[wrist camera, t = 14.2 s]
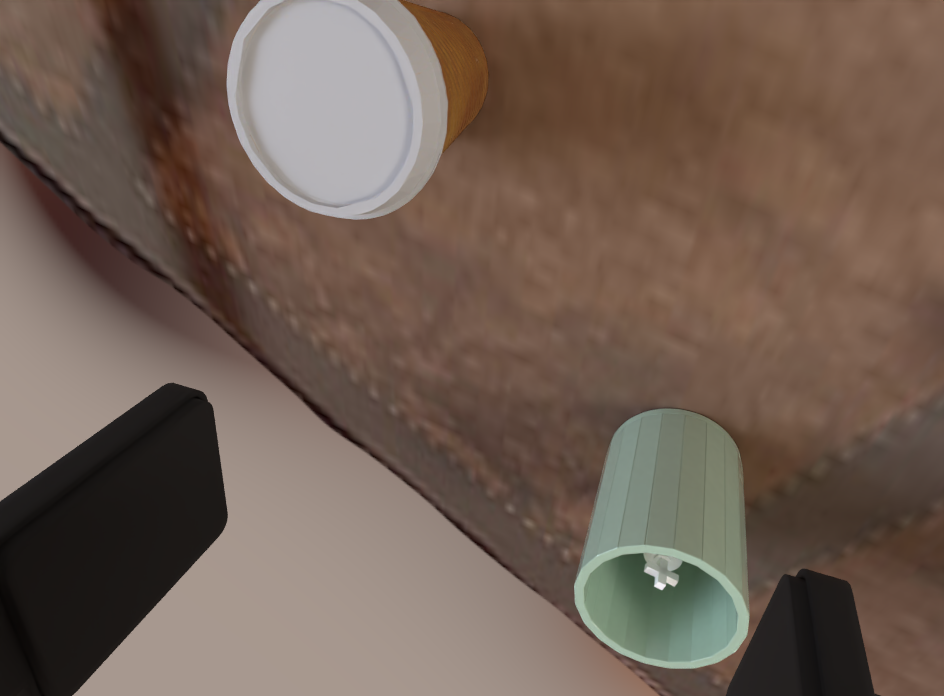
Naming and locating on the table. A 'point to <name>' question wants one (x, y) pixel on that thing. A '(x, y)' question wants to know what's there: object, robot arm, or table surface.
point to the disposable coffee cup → (352, 98)
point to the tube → (668, 543)
